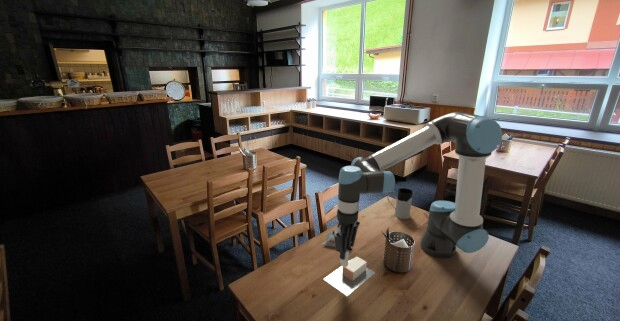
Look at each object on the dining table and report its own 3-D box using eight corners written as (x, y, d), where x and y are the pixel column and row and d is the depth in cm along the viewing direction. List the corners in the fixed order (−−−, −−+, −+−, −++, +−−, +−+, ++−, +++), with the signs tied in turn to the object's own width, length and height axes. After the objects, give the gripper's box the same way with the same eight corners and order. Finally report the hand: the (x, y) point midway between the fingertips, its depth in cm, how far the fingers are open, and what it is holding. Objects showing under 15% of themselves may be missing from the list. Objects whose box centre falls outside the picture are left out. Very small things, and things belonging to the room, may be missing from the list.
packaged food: (346, 253, 129) (347, 244, 127) (321, 248, 132) (321, 239, 131) (350, 243, 137) (350, 234, 135) (326, 238, 140) (326, 229, 139)
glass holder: (408, 220, 157) (411, 195, 152) (383, 213, 164) (385, 189, 159) (411, 213, 164) (415, 189, 159) (387, 207, 171) (389, 184, 166)
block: (342, 274, 114) (356, 264, 120) (352, 281, 111) (366, 270, 117) (342, 266, 113) (356, 256, 119) (352, 272, 110) (366, 262, 115)
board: (351, 261, 124) (351, 258, 124) (375, 275, 116) (375, 272, 115) (323, 281, 112) (323, 279, 112) (347, 298, 104) (347, 296, 103)
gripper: (351, 200, 108) (347, 252, 116) (327, 211, 100) (324, 267, 107) (367, 207, 103) (362, 261, 110) (344, 219, 94) (340, 277, 102)
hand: (343, 264), depth 109 cm, fingers closed
